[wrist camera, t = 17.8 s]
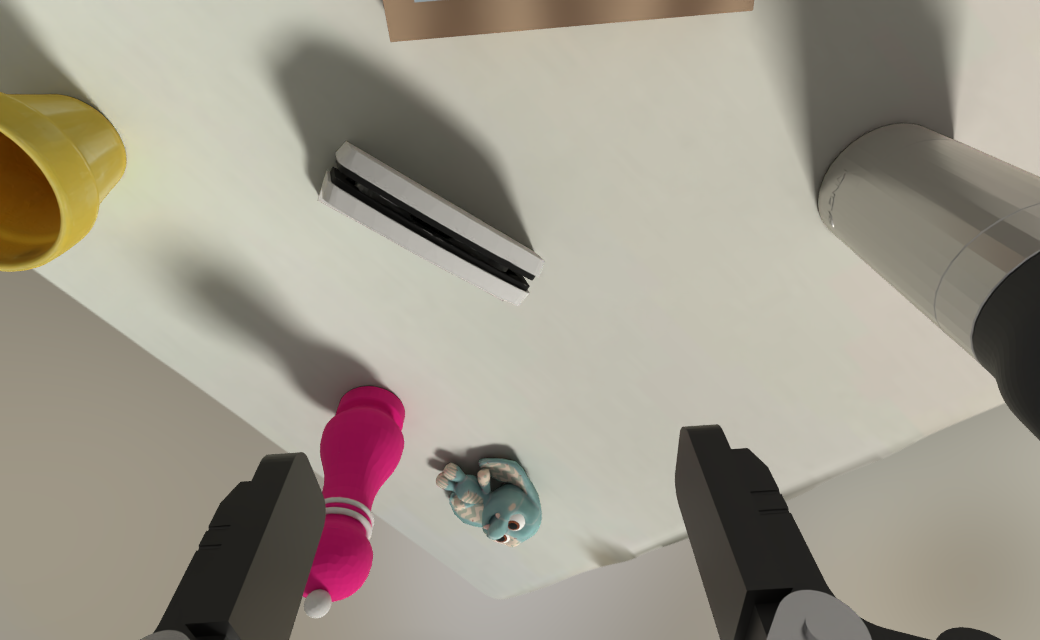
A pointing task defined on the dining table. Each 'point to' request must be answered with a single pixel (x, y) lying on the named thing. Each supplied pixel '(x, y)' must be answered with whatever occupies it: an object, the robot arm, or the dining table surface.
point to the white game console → (394, 196)
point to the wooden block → (533, 14)
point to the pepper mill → (352, 491)
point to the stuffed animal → (494, 500)
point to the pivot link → (423, 0)
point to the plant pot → (52, 175)
